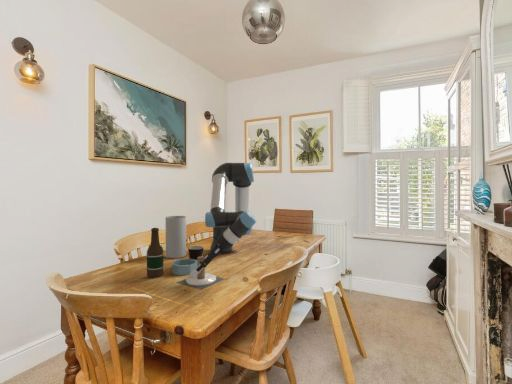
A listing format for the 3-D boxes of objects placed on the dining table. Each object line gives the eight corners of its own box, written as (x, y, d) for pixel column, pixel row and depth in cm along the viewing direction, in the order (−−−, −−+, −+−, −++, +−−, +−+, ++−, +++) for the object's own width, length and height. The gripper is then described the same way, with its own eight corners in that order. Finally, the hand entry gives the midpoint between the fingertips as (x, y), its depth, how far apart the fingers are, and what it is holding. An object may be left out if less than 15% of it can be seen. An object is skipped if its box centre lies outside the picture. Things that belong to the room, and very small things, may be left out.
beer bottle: (146, 275, 137) (146, 227, 137) (162, 273, 140) (162, 226, 140) (147, 280, 130) (146, 229, 130) (164, 277, 133) (163, 228, 133)
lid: (200, 273, 138) (200, 252, 138) (222, 279, 131) (222, 256, 130) (179, 282, 126) (179, 258, 126) (201, 288, 119) (201, 263, 119)
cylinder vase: (174, 252, 182) (174, 215, 181) (190, 254, 177) (190, 216, 176) (161, 257, 170) (161, 217, 169) (177, 259, 165) (177, 218, 165)
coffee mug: (200, 267, 149) (200, 249, 149) (185, 266, 151) (185, 249, 151) (208, 262, 161) (207, 245, 160) (194, 261, 162) (194, 244, 162)
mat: (200, 273, 140) (200, 272, 140) (225, 279, 131) (225, 278, 131) (176, 283, 126) (176, 282, 126) (201, 290, 118) (201, 289, 118)
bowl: (185, 266, 151) (185, 257, 151) (202, 270, 145) (202, 261, 145) (167, 272, 141) (167, 263, 140) (184, 277, 134) (184, 267, 134)
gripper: (230, 251, 115) (195, 285, 116) (236, 239, 140) (207, 268, 141) (218, 238, 115) (182, 273, 116) (226, 228, 140) (197, 257, 141)
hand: (196, 270), depth 128 cm, fingers open, 13 cm apart
